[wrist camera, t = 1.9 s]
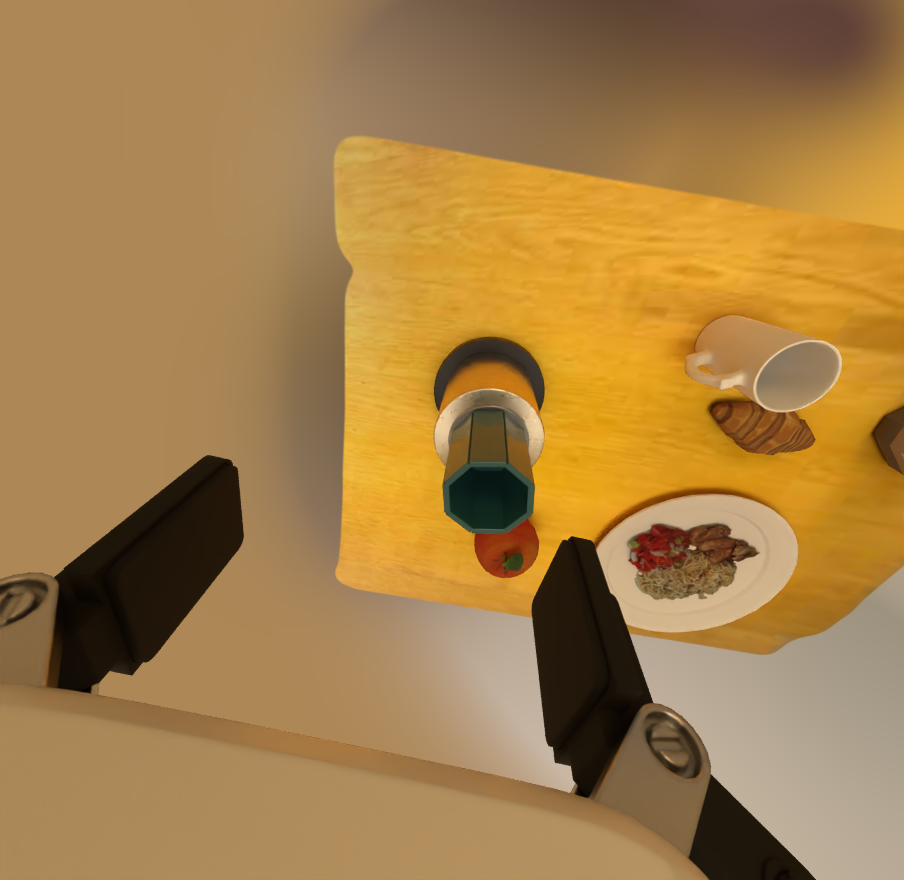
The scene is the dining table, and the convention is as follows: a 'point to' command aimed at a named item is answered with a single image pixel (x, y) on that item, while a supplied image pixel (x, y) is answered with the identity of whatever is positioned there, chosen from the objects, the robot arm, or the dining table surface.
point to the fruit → (508, 550)
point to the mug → (764, 363)
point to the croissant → (762, 428)
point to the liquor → (892, 439)
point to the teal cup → (488, 474)
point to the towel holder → (489, 390)
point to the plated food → (697, 561)
